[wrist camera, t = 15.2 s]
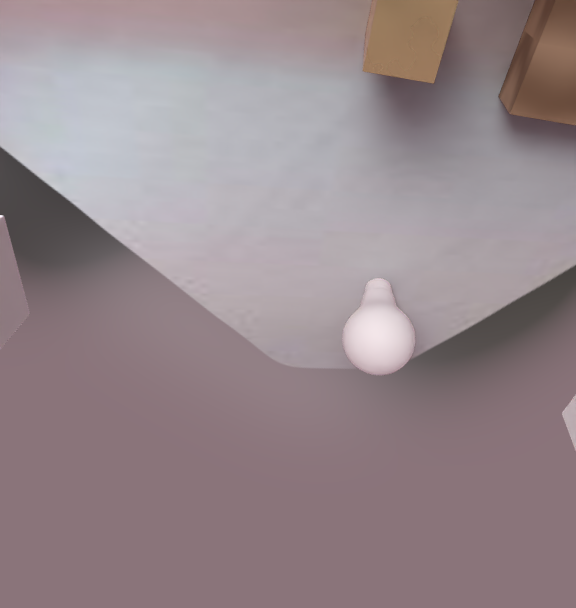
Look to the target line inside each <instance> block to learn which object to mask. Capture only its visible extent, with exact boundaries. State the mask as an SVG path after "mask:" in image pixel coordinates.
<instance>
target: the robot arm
mask: <svg viewBox="0 0 576 608" xmlns="http://www.w3.org/2000/svg"><path fill="white" fill-rule="evenodd" d="M29 315H30V312H29V308H28V304H27V301H26V297H25V293H24V289H23V286H22V282H21V278H20V275H19V271H18V267H17V263H16V259H15V255H14V252H13V248H12V244H11V240H10V237H9V233H8V229H7V225H6V222H5V218H4V216H2V215H0V349H1V348H2V347H3V346H4V344H5V343H6V342H7V341H8V339H9V338H10V337H11V336H12V335H13V334H14V332H15V331H16V330H17V329H18V328H19V327H20V325H21V324H22V323H23V322H24V321H25V319H26V318H27V317H28V316H29ZM562 415H563V418H564V420H565V423H566V426H567V429H568V431H569V434H570V436H571V439H572V442H573V445H574V448H575V450H576V395H575V396H574V398H573V399H572V400H571V402H570V403H569V404H568V406H567V407H566V408H565V410H564V411H563V413H562Z"/></svg>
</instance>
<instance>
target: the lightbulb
mask: <svg viewBox="0 0 576 608" xmlns="http://www.w3.org/2000/svg"><path fill="white" fill-rule="evenodd" d="M342 342H343V347H344V351H345V353H346V355H347V357H348V359H349V360H350V361H351V362H352V364H354V365H355V366H356V367H357V368H358V369H360V370H362V371H364V372H366V373H369V374H373V375H386V374H390V373H393V372H395V371H397V370H399V369H400V368H402V367H403V366H404V365H405V364H406V363H407V362H408V361H409V359H410V358H411V356H412V354H413V351H414V348H415V343H416V337H415V330H414V328H413V325H412V323H411V321H410V319H409V318H408V317H407V316H406V315H405V314H404V313H403V312H402V311H401V310H400V309H399V308H398V307H397V306H396V301H395V298H394V296H393V294H392V288H391V285H390V283H389V282H388V281H387V280H385V279H382V278H375V279H372V280H370V281H369V282H368V283H367V284H366V286H365V291H364V296H363V297H362V300H361V306H360V308H358V309H357V310H356V311H355V312H354V313H353V314H352V315H351V316H350V317H349V319H348V320H347V322H346V324H345V327H344V330H343V336H342Z"/></svg>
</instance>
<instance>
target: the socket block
mask: <svg viewBox="0 0 576 608" xmlns="http://www.w3.org/2000/svg"><path fill="white" fill-rule="evenodd" d="M499 98H500V99H501V101H502V103H503V104H504V106H505V107H506V109H507V110H508V112H509V114H512V115H518V116H524V117H529V118H535V119H541V120H547V121H553V122H558V123H564V124H570V125H576V0H535V2H534V4H533V7H532V10H531V12H530V15H529V18H528V20H527V23H526V25H525V28H524V31H523V33H522V36H521V39H520V41H519V44H518V47H517V49H516V52H515V54H514V57H513V60H512V62H511V65H510V68H509V70H508V73H507V75H506V78H505V81H504V83H503V86H502V89H501V91H500V94H499Z"/></svg>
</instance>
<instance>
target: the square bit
mask: <svg viewBox="0 0 576 608" xmlns="http://www.w3.org/2000/svg"><path fill="white" fill-rule="evenodd" d="M457 4H458V0H372V4H371V9H370V14H369V19H368V24H367V29H366V34H365V45H364V59H363V71H364V72H370V73H376V74H381V75H387V76H393V77H399V78H405V79H410V80H416V81H422V82H428V83H433V84H434V81H435V78H436V75H437V71H438V68H439V65H440V61H441V58H442V54H443V51H444V48H445V44H446V41H447V38H448V34H449V31H450V27H451V24H452V21H453V17H454V14H455V11H456V7H457Z"/></svg>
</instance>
